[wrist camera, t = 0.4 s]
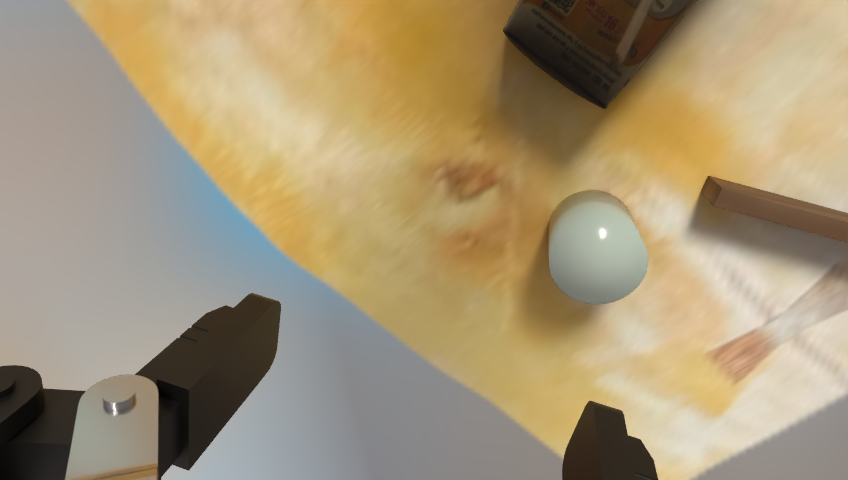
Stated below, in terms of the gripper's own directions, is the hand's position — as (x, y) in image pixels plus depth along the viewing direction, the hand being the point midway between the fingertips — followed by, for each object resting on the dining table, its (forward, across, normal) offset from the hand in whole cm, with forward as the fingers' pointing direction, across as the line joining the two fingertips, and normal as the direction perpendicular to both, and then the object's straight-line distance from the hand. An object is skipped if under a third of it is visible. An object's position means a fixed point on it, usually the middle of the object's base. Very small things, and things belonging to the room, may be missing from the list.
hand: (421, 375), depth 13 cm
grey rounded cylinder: (+27, -8, +5) cm, 28 cm away
